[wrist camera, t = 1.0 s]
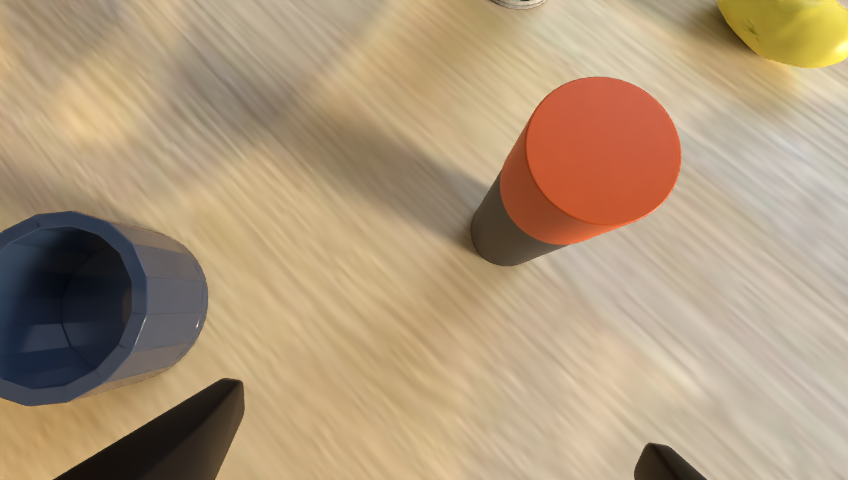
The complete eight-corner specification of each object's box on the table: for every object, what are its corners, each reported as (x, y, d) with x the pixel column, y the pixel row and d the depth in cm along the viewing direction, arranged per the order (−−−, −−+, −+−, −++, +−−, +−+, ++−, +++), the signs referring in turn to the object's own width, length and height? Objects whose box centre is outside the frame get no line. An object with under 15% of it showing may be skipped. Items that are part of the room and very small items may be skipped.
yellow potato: (730, -26, 25) (785, -85, 21) (829, 60, 24) (905, 15, 21) (685, 13, 25) (733, -39, 21) (784, 103, 24) (853, 65, 20)
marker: (546, 263, 23) (696, 217, 10) (474, 270, 22) (536, 233, 10) (536, 192, 23) (665, 69, 11) (465, 199, 23) (515, 83, 11)
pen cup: (210, 373, 22) (146, 394, 17) (56, 389, 21) (-54, 415, 17) (207, 224, 23) (147, 203, 18) (61, 238, 23) (-39, 221, 18)
